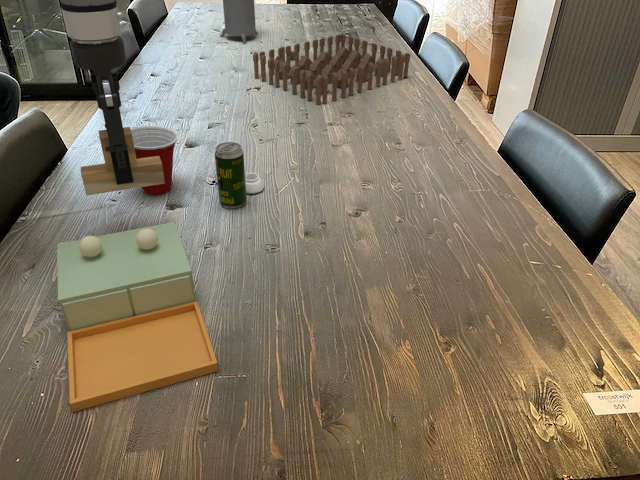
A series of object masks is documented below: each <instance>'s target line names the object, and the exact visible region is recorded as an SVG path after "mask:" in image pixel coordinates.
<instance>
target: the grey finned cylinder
mask: <svg viewBox="0 0 640 480" xmlns="http://www.w3.org/2000/svg"><path fill="white" fill-rule="evenodd" d="M222 7H223V8H222V9H223V19H224V28H223V29H222V30H221V34H220V37H221V38H223V37H225V36H226V35H228V36H232V37H240V38H241V40H242V42H243V44H244V45H246V44H247V41H246V40H247V37H248V36H252V35H255V36H256V35H258V34H259V32H258V31H257V28H256V9H255V0H222Z"/></svg>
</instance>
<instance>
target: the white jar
mask: <svg viewBox="0 0 640 480" xmlns="http://www.w3.org/2000/svg"><path fill="white" fill-rule="evenodd" d="M245 182H246V194H258V193H260V192H261V191H263V190H264V188H265V184H264V182H263V181H262V179H261V178H260V176H259V175H258V173H255V172H248V173H245Z"/></svg>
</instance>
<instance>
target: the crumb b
mask: <svg viewBox="0 0 640 480" xmlns="http://www.w3.org/2000/svg"><path fill="white" fill-rule="evenodd" d="M157 242H158V236H157V234H156V233H155V232H154V231H153V230H151V229H143V230H141V231H139V232H138V234H137V236H136V243H137V245H138V246H139V247H140V248H142V249H145V250H149V249H152V248H154V247H155V246H156V244H157Z"/></svg>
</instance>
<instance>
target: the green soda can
mask: <svg viewBox="0 0 640 480" xmlns="http://www.w3.org/2000/svg"><path fill="white" fill-rule="evenodd" d="M214 150H215V151H214V163H215V171H216V172H215V173H216V181H217V192H218V201H219V204H220V205H221V206H222V207H223V208H225V209H228V210H236V209H240V208H242V207H243V206H245V205H246V202H247V199H248V198H247V193H246V182H245V175H246V171H245V170H246V169H245V155H244V150H243V146H242V144H240V143H238V142H236V141H235V142H234V141H226V142H221V143H218V144H217V145H215V147H214Z"/></svg>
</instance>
